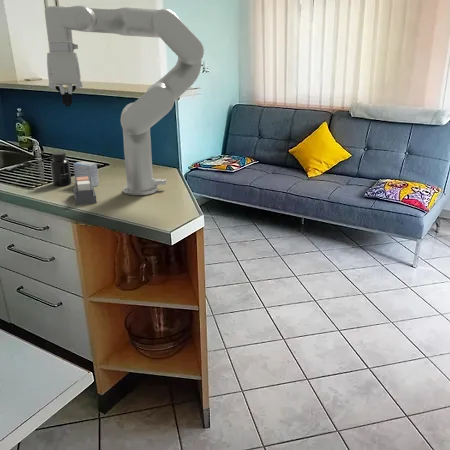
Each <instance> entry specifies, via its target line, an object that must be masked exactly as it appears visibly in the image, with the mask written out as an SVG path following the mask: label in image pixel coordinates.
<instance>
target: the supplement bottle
mask: <svg viewBox="0 0 450 450" xmlns="http://www.w3.org/2000/svg"><path fill="white" fill-rule="evenodd" d="M51 155H52V159H53V160H52V161H50V170H51V178H52V184H53V186H56V187H65V186H66V187H67V186H69V185H71V184H72V175H71V167H70V165H71V164H70V161H69V160H68V159H67V155H66V152H64V151H63V152H61V151H60V152H59V151H58V152H53V153H52V154H51Z"/></svg>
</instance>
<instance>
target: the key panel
mask: <svg viewBox="0 0 450 450" xmlns="http://www.w3.org/2000/svg"><path fill="white" fill-rule="evenodd" d="M90 189H91V190H83V191H78V186H77V183H76V182H74V187H73V188H72V190H73V197H74V204H75V206H78V205H79V206H80V205H89V204H97V203H98V201H97V194H96V192H95V187H93V186H92V185H91V182H90Z"/></svg>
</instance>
